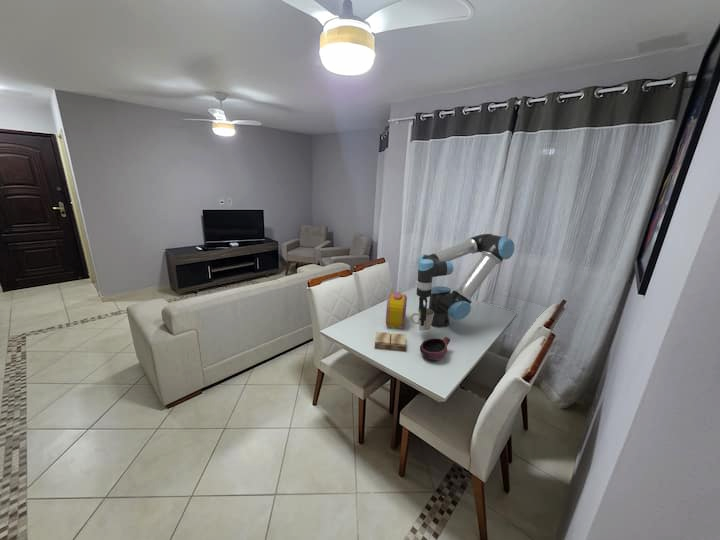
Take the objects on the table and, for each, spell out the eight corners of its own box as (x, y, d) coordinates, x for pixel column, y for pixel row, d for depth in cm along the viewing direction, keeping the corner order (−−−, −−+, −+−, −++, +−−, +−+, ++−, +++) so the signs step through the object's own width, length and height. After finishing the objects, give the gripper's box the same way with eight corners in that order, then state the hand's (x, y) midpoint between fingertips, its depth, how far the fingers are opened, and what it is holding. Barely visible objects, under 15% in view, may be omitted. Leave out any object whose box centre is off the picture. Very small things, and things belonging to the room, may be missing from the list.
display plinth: (404, 340, 149) (405, 333, 148) (405, 351, 139) (406, 344, 138) (375, 337, 151) (376, 331, 150) (374, 348, 141) (374, 342, 139)
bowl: (442, 367, 127) (444, 353, 125) (416, 359, 133) (417, 345, 131) (449, 351, 141) (451, 337, 138) (425, 343, 147) (427, 330, 144)
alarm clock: (388, 315, 177) (390, 288, 171) (405, 317, 175) (407, 290, 169) (384, 329, 160) (386, 299, 154) (403, 332, 158) (406, 301, 152)
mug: (433, 332, 145) (434, 315, 142) (409, 329, 148) (410, 313, 144) (432, 324, 153) (433, 308, 150) (409, 322, 155) (410, 306, 152)
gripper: (415, 281, 152) (413, 318, 159) (418, 294, 134) (415, 335, 141) (429, 282, 151) (426, 319, 159) (433, 295, 133) (430, 336, 141)
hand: (421, 326), depth 150 cm, fingers closed on mug, 6 cm apart
